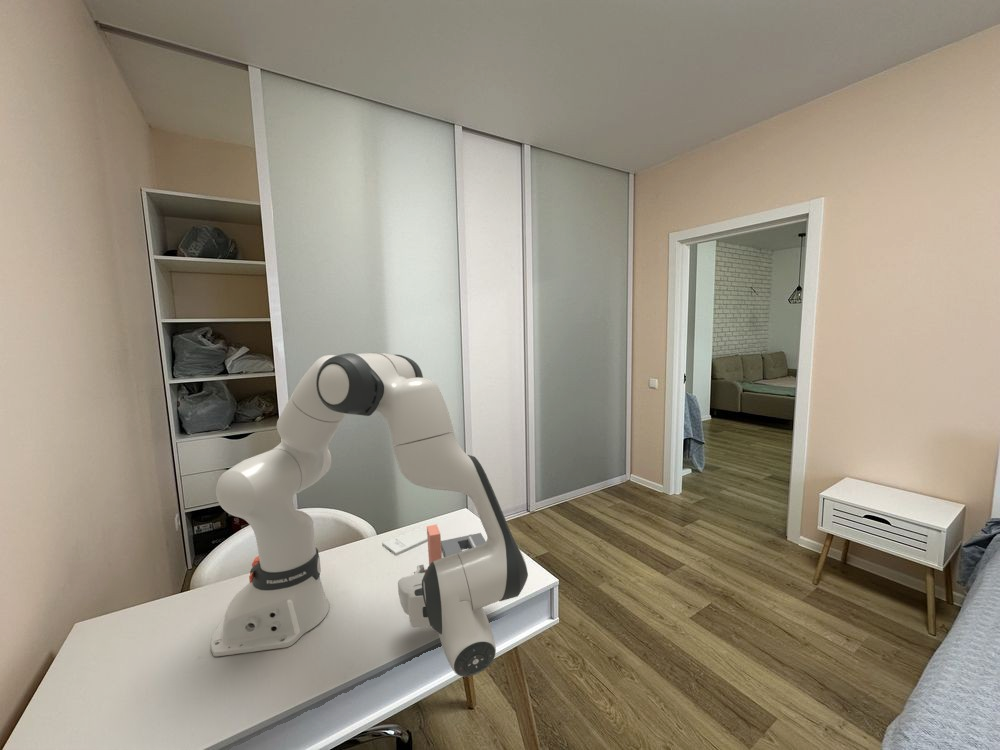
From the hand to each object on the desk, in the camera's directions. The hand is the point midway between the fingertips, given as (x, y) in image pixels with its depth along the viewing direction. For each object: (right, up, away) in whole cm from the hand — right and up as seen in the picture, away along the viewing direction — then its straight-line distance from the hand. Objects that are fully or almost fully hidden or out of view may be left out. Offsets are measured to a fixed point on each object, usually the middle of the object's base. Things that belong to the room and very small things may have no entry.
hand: (440, 563), depth 92 cm
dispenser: (+4, -7, +21) cm, 23 cm away
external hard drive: (-14, -8, +29) cm, 33 cm away
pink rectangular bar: (-2, -9, +7) cm, 12 cm away
